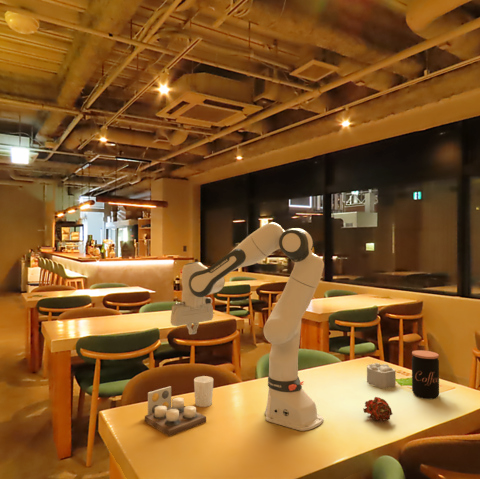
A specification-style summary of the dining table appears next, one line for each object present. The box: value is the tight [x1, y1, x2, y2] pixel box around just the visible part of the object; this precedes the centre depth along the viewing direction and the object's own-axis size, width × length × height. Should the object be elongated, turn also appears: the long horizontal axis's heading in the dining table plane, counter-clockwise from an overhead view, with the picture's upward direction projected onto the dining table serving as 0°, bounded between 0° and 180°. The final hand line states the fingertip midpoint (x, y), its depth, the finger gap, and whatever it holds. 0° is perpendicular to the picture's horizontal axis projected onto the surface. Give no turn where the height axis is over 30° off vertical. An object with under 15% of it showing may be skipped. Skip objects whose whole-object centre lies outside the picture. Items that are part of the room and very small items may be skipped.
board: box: [144, 405, 207, 437], centre depth 145 cm, size 16×16×2 cm
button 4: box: [155, 406, 167, 418], centre depth 145 cm, size 4×4×2 cm
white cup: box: [193, 375, 214, 408], centre depth 162 cm, size 8×8×10 cm
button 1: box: [184, 405, 197, 418], centre depth 145 cm, size 4×4×2 cm
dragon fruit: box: [362, 396, 393, 422], centre depth 148 cm, size 8×8×12 cm
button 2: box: [166, 409, 179, 421], centre depth 139 cm, size 4×4×2 cm
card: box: [147, 385, 172, 415], centre depth 152 cm, size 1×10×9 cm, turn 134°
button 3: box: [171, 397, 185, 409], centre depth 150 cm, size 4×4×2 cm
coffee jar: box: [411, 349, 440, 400], centre depth 172 cm, size 11×11×18 cm
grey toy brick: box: [366, 362, 397, 390], centre depth 187 cm, size 10×13×9 cm
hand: (192, 333), depth 166 cm, fingers closed
